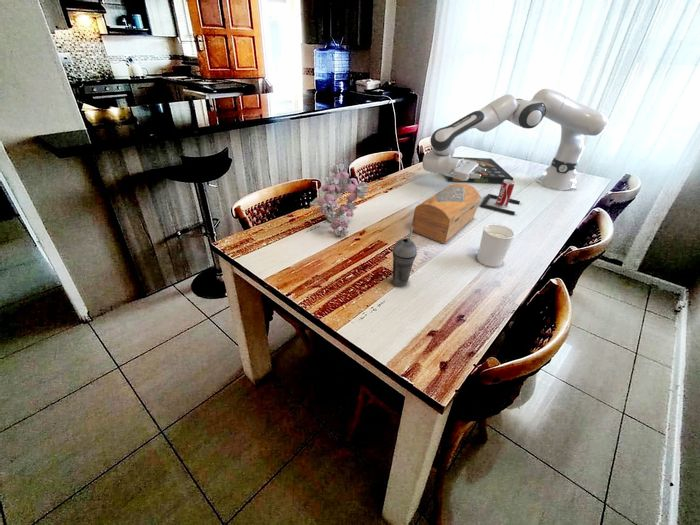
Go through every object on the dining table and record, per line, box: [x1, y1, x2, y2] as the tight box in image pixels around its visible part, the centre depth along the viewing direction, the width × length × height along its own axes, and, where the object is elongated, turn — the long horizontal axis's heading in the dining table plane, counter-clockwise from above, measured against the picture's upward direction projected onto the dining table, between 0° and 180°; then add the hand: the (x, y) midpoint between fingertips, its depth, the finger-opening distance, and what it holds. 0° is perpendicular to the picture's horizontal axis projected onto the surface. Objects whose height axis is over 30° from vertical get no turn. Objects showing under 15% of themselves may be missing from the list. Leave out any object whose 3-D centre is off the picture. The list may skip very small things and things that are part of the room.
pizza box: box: [443, 156, 514, 185], centre depth 193 cm, size 35×35×4 cm
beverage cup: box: [392, 226, 418, 288], centre depth 97 cm, size 7×7×20 cm
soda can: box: [495, 179, 515, 208], centre depth 152 cm, size 5×5×12 cm
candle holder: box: [476, 223, 516, 268], centre depth 112 cm, size 10×10×12 cm
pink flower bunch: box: [309, 162, 372, 239], centre depth 126 cm, size 20×22×25 cm
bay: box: [479, 193, 521, 216], centre depth 155 cm, size 16×15×1 cm
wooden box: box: [411, 182, 482, 244], centre depth 133 cm, size 30×16×14 cm, turn 140°
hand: (483, 173), depth 153 cm, fingers open, 8 cm apart
